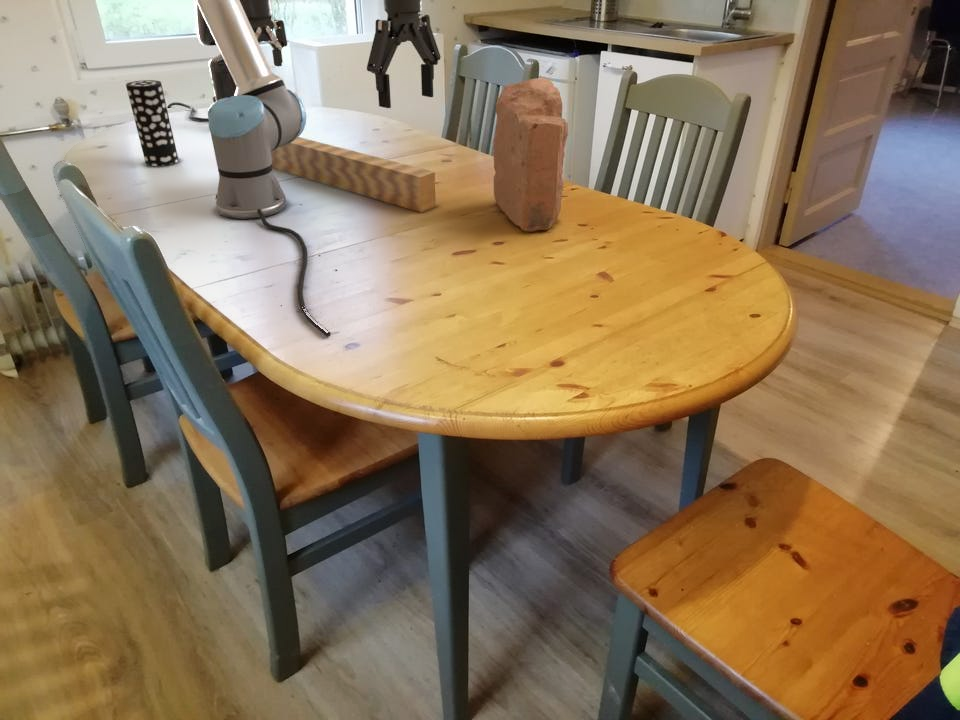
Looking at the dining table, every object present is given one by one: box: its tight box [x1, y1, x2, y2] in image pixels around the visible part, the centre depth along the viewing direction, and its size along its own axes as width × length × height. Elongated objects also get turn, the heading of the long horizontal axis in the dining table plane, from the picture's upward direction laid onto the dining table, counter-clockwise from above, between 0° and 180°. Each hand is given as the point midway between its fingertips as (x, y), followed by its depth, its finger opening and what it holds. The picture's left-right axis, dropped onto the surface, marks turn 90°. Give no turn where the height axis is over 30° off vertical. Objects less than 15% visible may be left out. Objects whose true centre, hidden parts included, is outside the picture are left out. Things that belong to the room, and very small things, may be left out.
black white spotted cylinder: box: [125, 79, 179, 167], centre depth 181 cm, size 8×8×20 cm
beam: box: [270, 136, 437, 213], centre depth 171 cm, size 59×5×8 cm, turn 53°
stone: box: [493, 77, 569, 232], centre depth 148 cm, size 22×11×28 cm, turn 18°
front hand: (406, 101), depth 149 cm, fingers open, 13 cm apart
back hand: (264, 68), depth 172 cm, fingers open, 8 cm apart
